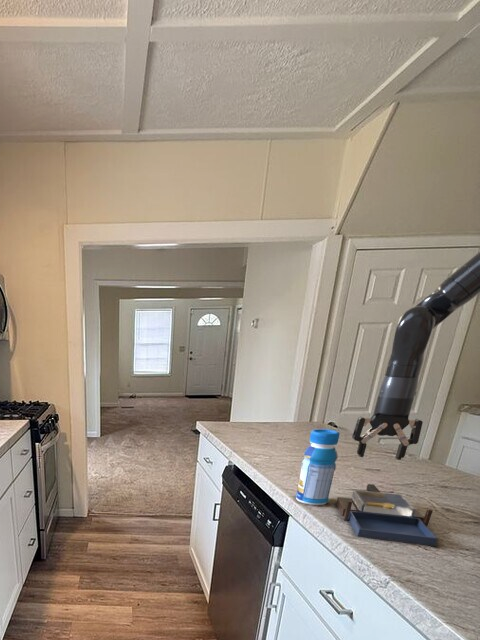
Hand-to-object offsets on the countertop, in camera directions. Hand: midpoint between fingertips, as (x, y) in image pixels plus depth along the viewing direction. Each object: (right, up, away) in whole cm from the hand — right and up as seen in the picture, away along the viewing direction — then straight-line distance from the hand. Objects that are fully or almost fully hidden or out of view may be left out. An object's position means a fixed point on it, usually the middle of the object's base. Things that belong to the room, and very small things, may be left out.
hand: (379, 457), depth 107 cm
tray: (-6, -19, -11) cm, 23 cm away
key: (-2, -13, -3) cm, 13 cm away
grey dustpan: (-1, -12, -1) cm, 12 cm away
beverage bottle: (-14, -12, +8) cm, 20 cm away
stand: (-2, -15, -3) cm, 16 cm away
